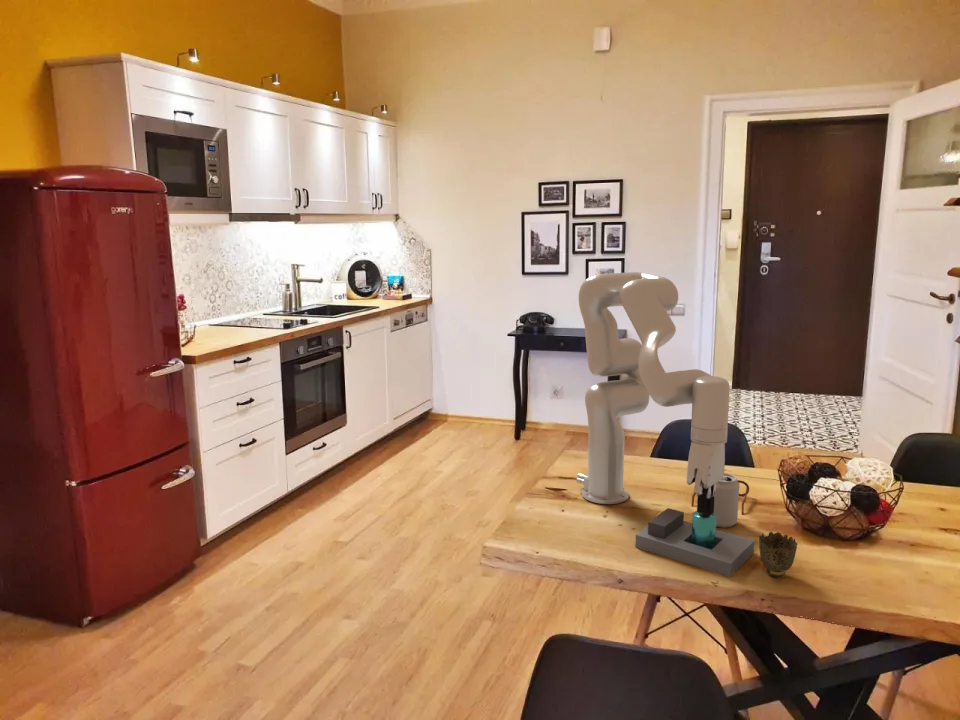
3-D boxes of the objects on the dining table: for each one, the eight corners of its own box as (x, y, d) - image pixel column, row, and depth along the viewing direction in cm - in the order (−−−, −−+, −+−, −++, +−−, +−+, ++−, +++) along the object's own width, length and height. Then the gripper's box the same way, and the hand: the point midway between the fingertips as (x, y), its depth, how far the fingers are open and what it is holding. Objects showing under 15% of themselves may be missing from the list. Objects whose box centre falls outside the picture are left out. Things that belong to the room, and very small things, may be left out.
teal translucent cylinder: (687, 553, 159) (689, 515, 157) (696, 545, 163) (698, 508, 161) (708, 559, 156) (710, 521, 154) (717, 551, 159) (719, 513, 158)
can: (739, 530, 170) (742, 483, 168) (706, 527, 172) (709, 481, 169) (734, 517, 177) (737, 471, 175) (703, 515, 179) (706, 470, 176)
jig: (635, 546, 162) (636, 522, 161) (663, 526, 173) (664, 503, 171) (729, 577, 148) (731, 550, 147) (753, 552, 159) (755, 527, 157)
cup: (772, 585, 144) (774, 549, 143) (749, 569, 151) (751, 534, 150) (802, 580, 147) (805, 544, 145) (778, 564, 153) (781, 529, 152)
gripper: (706, 422, 162) (702, 498, 165) (677, 438, 150) (674, 519, 154) (739, 428, 157) (734, 506, 160) (711, 445, 146) (707, 528, 149)
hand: (705, 512), depth 157 cm, fingers closed
